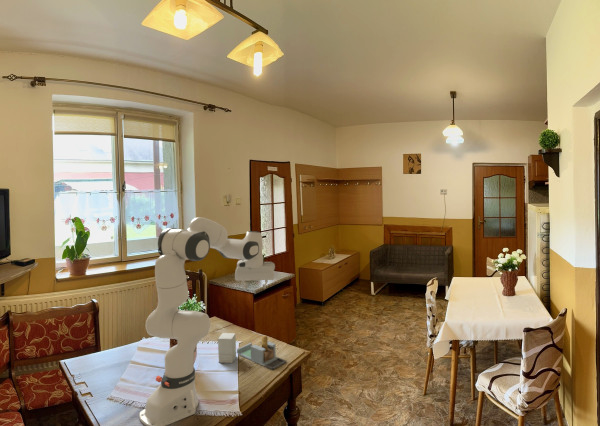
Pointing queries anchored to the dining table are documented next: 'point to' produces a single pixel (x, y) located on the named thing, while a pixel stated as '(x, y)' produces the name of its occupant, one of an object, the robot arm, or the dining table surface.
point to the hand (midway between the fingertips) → (255, 288)
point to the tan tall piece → (268, 352)
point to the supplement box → (227, 347)
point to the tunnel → (260, 355)
